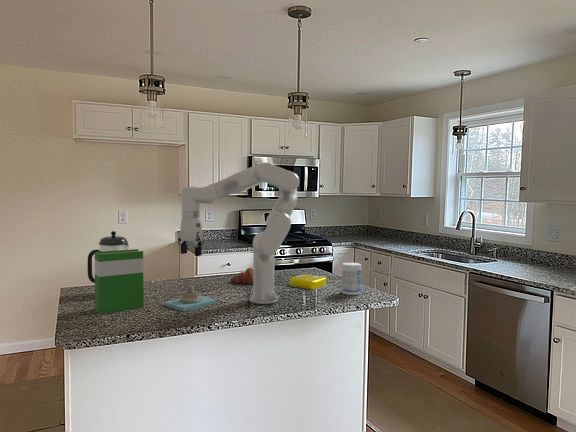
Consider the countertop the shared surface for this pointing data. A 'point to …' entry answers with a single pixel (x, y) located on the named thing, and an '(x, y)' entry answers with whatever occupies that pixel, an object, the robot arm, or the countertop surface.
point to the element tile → (308, 281)
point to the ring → (190, 296)
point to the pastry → (244, 277)
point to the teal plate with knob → (185, 305)
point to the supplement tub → (351, 278)
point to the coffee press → (107, 249)
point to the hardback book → (118, 280)
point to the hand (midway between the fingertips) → (190, 254)
